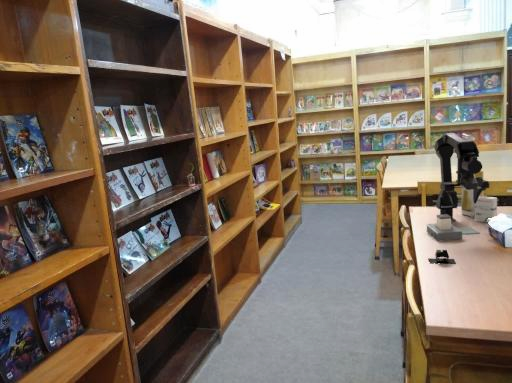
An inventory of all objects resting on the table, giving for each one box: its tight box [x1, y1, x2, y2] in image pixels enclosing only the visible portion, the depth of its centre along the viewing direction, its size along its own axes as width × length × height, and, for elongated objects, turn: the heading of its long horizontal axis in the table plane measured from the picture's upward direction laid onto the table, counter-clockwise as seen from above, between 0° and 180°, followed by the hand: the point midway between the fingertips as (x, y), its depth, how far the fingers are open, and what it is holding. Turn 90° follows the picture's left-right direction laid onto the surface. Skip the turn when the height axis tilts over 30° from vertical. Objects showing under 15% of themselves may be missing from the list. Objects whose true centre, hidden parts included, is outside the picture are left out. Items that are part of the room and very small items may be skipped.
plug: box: [436, 214, 452, 230], centre depth 179 cm, size 4×4×9 cm
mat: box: [457, 227, 481, 236], centre depth 182 cm, size 8×8×1 cm
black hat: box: [427, 249, 457, 265], centre depth 151 cm, size 12×7×5 cm, turn 73°
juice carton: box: [461, 170, 485, 218], centre depth 204 cm, size 9×8×24 cm
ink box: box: [474, 195, 498, 223], centre depth 193 cm, size 9×5×12 cm, turn 39°
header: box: [425, 222, 463, 242], centre depth 180 cm, size 14×10×4 cm
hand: (464, 204), depth 178 cm, fingers open, 9 cm apart
